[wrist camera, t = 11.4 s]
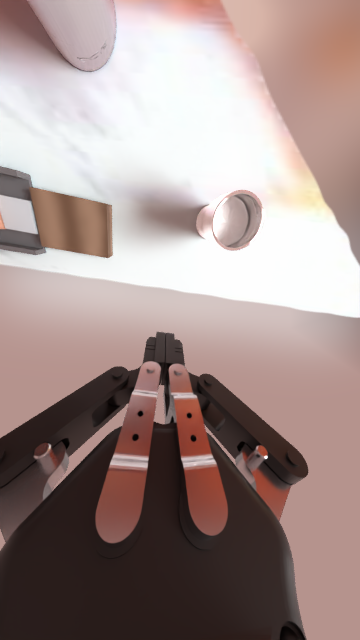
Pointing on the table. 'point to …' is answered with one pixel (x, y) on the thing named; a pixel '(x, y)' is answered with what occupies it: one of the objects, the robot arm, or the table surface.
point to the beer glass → (231, 220)
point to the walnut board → (73, 223)
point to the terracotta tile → (1, 223)
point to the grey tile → (18, 214)
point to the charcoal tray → (18, 187)
